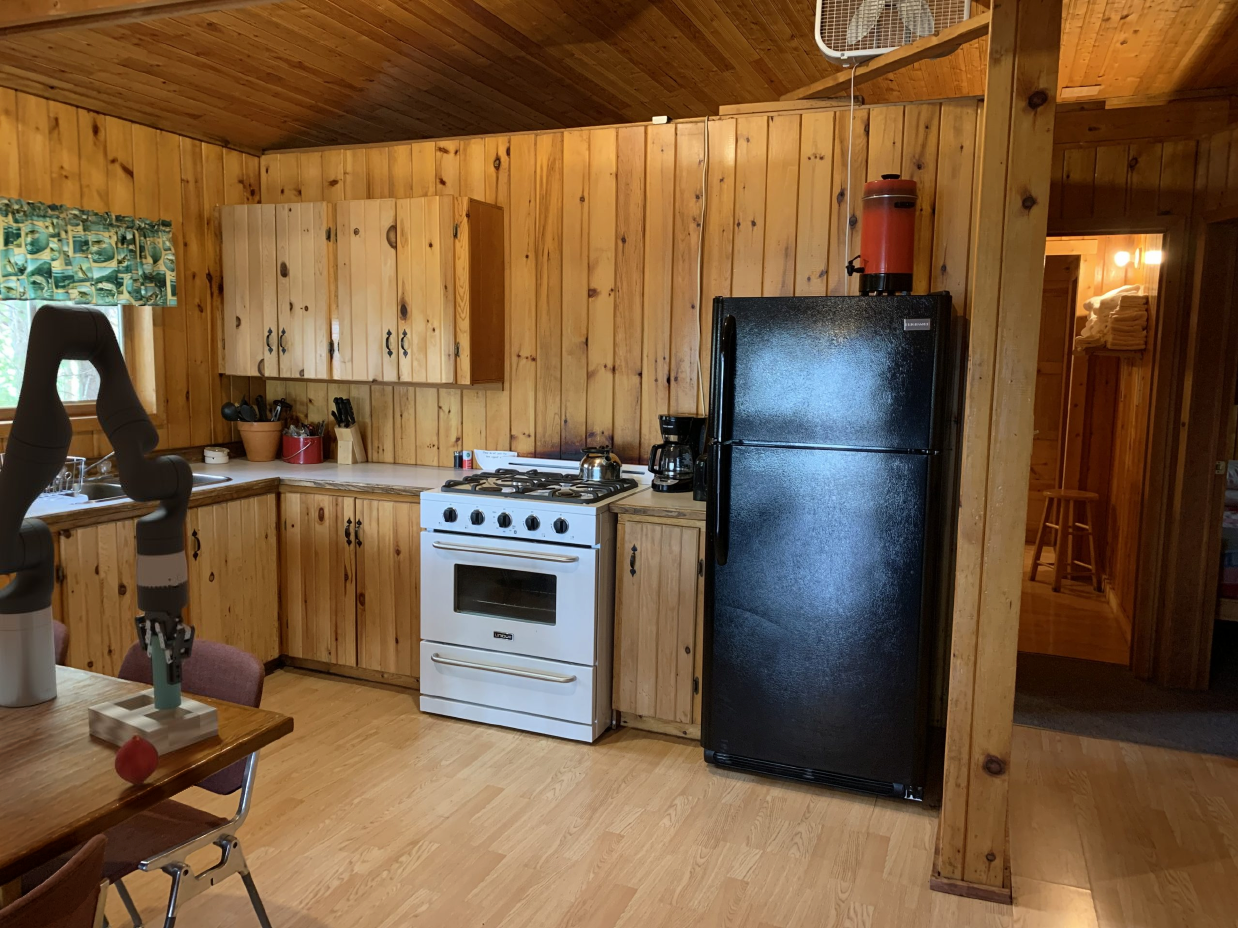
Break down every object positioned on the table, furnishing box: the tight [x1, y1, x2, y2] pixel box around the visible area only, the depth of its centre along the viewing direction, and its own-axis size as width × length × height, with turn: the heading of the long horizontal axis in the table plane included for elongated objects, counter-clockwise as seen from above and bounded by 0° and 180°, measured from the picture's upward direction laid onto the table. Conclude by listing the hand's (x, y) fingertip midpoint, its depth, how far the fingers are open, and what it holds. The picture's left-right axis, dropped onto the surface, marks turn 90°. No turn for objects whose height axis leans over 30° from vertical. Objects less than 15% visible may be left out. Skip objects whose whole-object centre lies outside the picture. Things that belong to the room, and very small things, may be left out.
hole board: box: [87, 687, 219, 757], centre depth 159 cm, size 18×12×4 cm, turn 57°
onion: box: [114, 734, 160, 787], centre depth 140 cm, size 6×6×8 cm
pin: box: [151, 635, 182, 710], centre depth 156 cm, size 4×4×12 cm
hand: (166, 680), depth 156 cm, fingers closed on pin, 4 cm apart
